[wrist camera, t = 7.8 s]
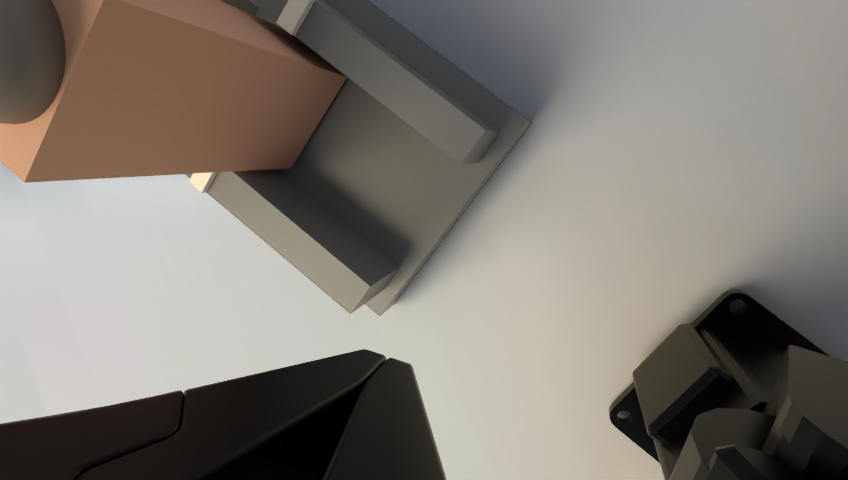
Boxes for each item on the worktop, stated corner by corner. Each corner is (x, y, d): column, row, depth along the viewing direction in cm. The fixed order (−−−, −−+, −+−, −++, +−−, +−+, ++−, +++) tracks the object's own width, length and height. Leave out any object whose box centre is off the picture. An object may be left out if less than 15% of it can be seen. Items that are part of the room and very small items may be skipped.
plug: (346, 77, 18) (36, -28, 8) (290, 168, 20) (-47, 186, 9) (284, 28, 19) (-97, -137, 8) (232, 120, 20) (-159, 82, 9)
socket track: (531, 122, 19) (513, 109, 13) (392, 305, 21) (326, 361, 16) (284, -62, 20) (169, -148, 14) (182, 130, 23) (51, 122, 17)
